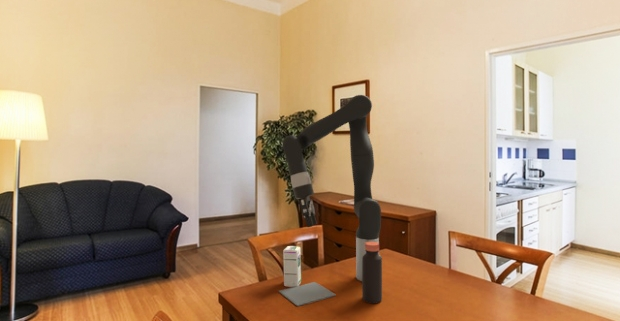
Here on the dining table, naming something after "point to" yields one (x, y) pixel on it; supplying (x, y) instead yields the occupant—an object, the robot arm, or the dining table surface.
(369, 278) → the bottle
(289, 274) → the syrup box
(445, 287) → the dining table surface
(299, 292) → the slate mat
